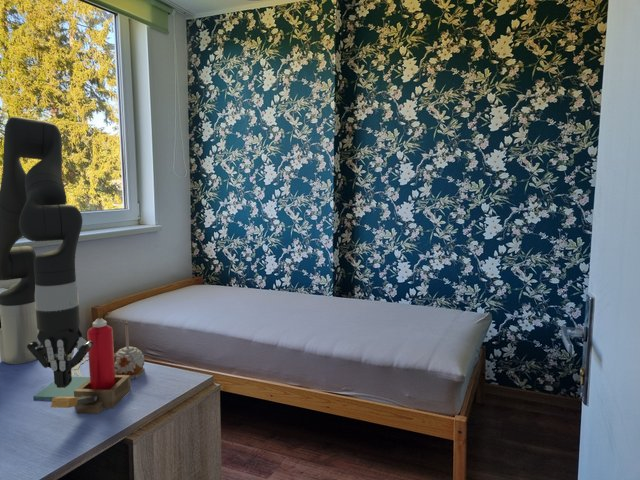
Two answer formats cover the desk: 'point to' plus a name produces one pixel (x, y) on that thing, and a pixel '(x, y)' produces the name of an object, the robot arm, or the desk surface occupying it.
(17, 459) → the desk surface
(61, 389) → the coaster
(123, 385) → the holder
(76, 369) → the scissors
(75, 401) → the lever
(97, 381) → the bottle
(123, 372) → the caramel apple
